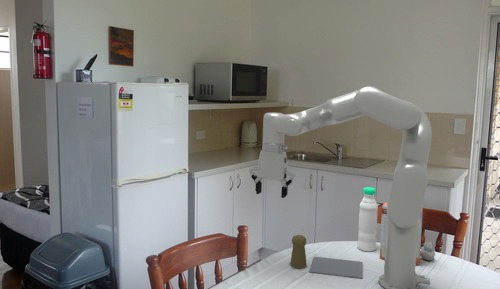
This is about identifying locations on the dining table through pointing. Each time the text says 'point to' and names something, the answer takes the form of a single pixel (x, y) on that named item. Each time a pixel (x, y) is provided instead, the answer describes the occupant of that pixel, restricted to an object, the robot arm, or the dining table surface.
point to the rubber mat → (337, 267)
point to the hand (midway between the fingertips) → (271, 195)
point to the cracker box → (383, 234)
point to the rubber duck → (427, 251)
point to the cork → (298, 252)
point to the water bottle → (367, 221)
